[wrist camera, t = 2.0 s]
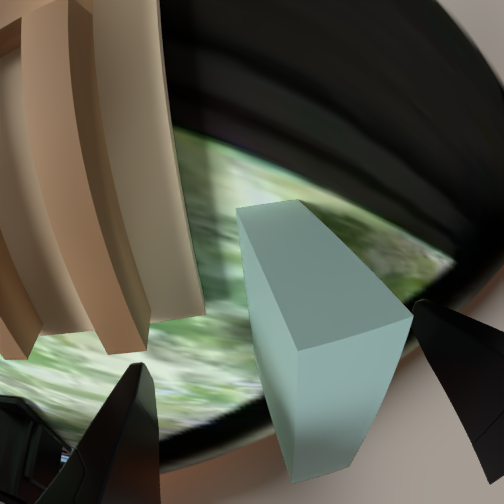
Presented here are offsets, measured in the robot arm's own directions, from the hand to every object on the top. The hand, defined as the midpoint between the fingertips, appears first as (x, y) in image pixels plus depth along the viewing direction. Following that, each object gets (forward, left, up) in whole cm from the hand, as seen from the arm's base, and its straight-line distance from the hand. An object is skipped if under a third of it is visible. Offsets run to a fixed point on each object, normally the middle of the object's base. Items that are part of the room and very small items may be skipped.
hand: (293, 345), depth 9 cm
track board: (-7, +6, -3) cm, 10 cm away
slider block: (0, 0, -3) cm, 3 cm away
